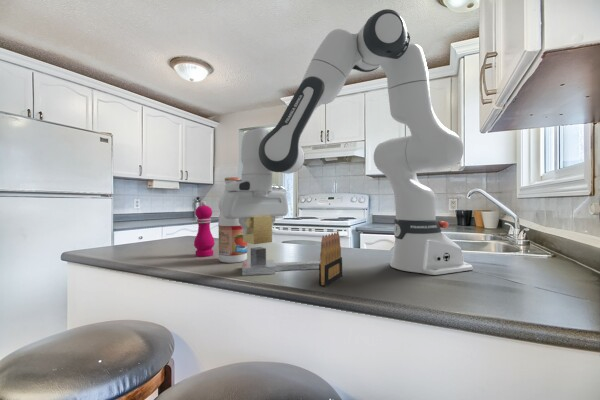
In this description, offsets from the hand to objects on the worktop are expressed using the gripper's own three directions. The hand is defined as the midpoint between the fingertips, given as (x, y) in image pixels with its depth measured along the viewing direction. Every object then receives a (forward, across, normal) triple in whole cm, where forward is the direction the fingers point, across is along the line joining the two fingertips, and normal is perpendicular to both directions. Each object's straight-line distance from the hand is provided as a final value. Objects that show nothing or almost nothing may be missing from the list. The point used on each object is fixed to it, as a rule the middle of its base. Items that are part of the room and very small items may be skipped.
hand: (257, 233), depth 86 cm
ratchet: (+11, -8, +4) cm, 14 cm away
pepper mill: (+11, +3, -33) cm, 35 cm away
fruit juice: (+11, -1, -18) cm, 21 cm away
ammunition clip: (+11, -9, +21) cm, 25 cm away
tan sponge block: (+3, 0, 0) cm, 3 cm away
